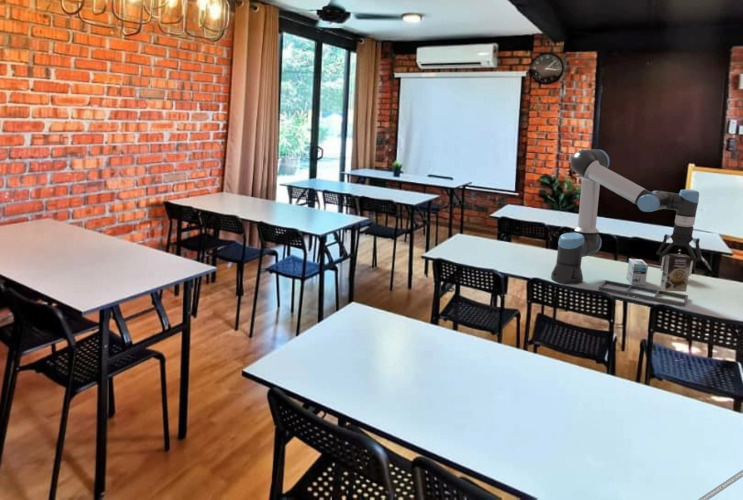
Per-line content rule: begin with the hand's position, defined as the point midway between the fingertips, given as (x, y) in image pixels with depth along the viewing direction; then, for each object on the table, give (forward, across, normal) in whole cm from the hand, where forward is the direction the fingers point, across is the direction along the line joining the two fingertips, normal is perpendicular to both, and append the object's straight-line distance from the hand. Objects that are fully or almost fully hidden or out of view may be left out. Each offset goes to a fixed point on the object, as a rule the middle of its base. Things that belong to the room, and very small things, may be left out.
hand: (675, 272), depth 240 cm
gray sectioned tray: (+13, -12, 0) cm, 18 cm away
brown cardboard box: (+8, 0, 0) cm, 8 cm away
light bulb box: (+13, -18, +19) cm, 29 cm away
